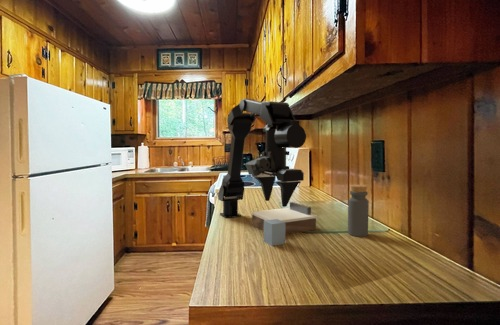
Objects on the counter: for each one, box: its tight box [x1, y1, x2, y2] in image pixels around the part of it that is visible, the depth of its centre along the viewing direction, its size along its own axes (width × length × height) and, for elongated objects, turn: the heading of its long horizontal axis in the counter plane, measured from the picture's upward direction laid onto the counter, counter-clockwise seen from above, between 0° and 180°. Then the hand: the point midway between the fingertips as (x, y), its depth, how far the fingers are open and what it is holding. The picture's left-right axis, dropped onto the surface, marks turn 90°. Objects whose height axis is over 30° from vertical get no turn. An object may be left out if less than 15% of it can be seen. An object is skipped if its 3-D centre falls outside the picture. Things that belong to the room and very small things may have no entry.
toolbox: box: [251, 214, 317, 235], centre depth 99 cm, size 14×16×4 cm
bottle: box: [347, 184, 370, 238], centre depth 91 cm, size 6×6×15 cm
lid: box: [251, 201, 318, 222], centre depth 99 cm, size 14×16×3 cm
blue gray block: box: [263, 219, 286, 247], centre depth 84 cm, size 4×4×6 cm
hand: (275, 203), depth 83 cm, fingers open, 9 cm apart
